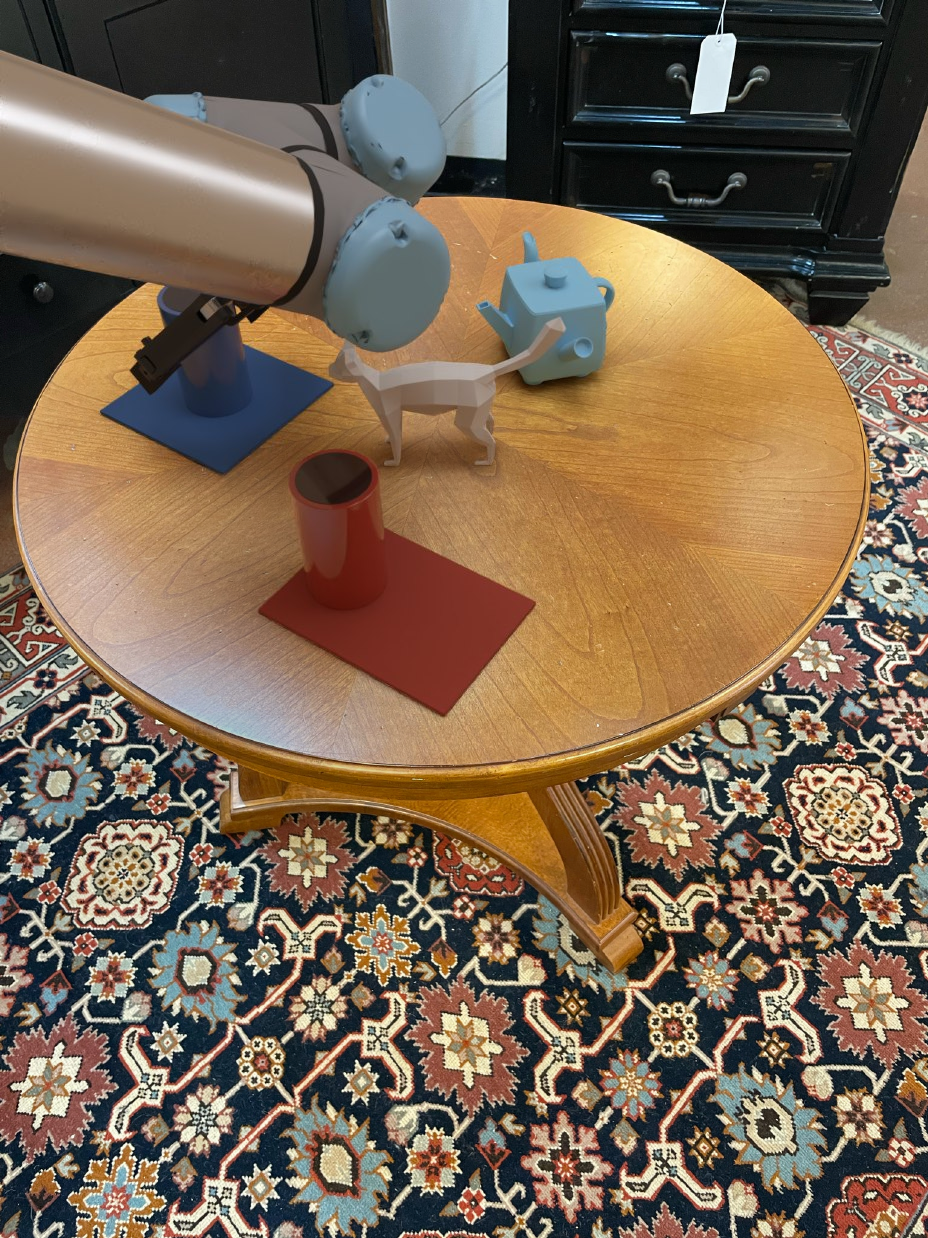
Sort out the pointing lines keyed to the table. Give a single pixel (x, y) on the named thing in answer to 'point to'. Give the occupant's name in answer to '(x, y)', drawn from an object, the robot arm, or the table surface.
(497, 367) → the cat figurine
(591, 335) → the teapot
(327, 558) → the red tumbler
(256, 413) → the blue mat
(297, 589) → the red mat
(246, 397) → the blue tumbler
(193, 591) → the table surface
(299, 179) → the robot arm
